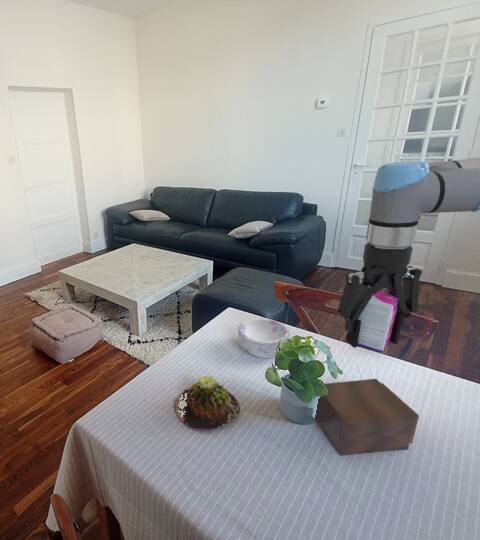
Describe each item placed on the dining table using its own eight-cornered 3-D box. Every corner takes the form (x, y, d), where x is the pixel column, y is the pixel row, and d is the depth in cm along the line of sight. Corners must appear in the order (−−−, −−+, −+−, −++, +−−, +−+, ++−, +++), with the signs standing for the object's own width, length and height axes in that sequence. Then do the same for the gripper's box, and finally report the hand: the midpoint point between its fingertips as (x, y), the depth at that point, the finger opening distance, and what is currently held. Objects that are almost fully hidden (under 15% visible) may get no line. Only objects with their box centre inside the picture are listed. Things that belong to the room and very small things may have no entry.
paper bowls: (229, 343, 117) (229, 323, 114) (268, 333, 120) (268, 314, 117) (256, 369, 103) (257, 346, 100) (299, 357, 106) (301, 335, 103)
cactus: (212, 380, 100) (211, 352, 97) (253, 413, 87) (254, 383, 83) (163, 403, 94) (161, 374, 90) (200, 443, 80) (199, 411, 77)
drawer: (382, 407, 83) (387, 382, 80) (417, 442, 73) (425, 414, 70) (322, 413, 83) (325, 388, 81) (349, 449, 73) (354, 421, 71)
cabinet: (370, 410, 84) (376, 378, 80) (408, 449, 73) (416, 414, 70) (311, 415, 84) (314, 384, 81) (340, 455, 73) (345, 421, 70)
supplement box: (383, 353, 71) (392, 305, 67) (350, 343, 75) (357, 297, 71) (391, 342, 74) (400, 295, 70) (359, 333, 79) (366, 288, 75)
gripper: (426, 233, 70) (405, 329, 78) (324, 244, 71) (314, 337, 79) (460, 243, 63) (434, 347, 71) (347, 255, 64) (333, 356, 71)
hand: (371, 342), depth 75 cm, fingers closed on supplement box, 8 cm apart
